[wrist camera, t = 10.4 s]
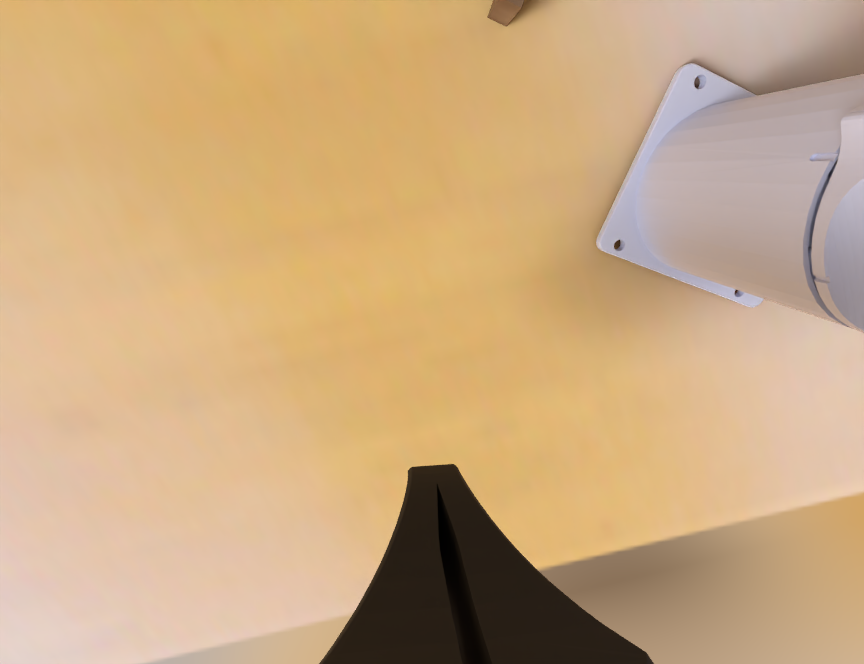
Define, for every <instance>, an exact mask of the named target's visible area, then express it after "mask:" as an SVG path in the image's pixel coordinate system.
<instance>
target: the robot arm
mask: <svg viewBox="0 0 864 664" xmlns="http://www.w3.org/2000/svg"><path fill="white" fill-rule="evenodd" d="M696 77H698V78H699V80H700V84H699V87H698V88H697V89H696V88H695V86H694V81H695V79H696ZM617 240H620V242H621V244H620V247H619V248H618V249H616V250H615V249H614V244H615V242H616V241H617ZM596 244H597V247H598V249H600V250H601V251H603V252H606V253H609V254H611V255H614V256H617V257H619V258H622V259H624V260H627V261H630V262H632V263H635V264H638V265H640V266H643V267H645V268H648V269H651V270H653V271H656V272H658V273H661V274H664V275H666V276H669V277H672V278H674V279H677V280H679V281H682V282H685V283H687V284H690V285H693V286H695V287H698V288H700V289H703V290H706V291H708V292H711V293H714V294H716V295H719V296H721V297H724V298H727V299H729V300H732V301H735V302H737V303H740V304H742V305H745V306H748V307H756V306H758V305H759V304H760V303H761V302H762V301H763V299H766V300H769V301H772V302H775V303H778V304H781V305H784V306H787V307H790V308H793V309H796V310H799V311H802V312H805V313H808V314H811V315H814V316H817V317H820V318H823V319H826V320H829V321H832V322H835V323H838V324H841V325H844V326H847V327H850V328H854V329H856V330H858V331H861V332H863V333H864V74H859V75H854V76H849V77H845V78H840V79H835V80H830V81H825V82H821V83H816V84H811V85H806V86H801V87H796V88H792V89H787V90H782V91H777V92H772V93H768V94H763V95H758V96H757V95H755V94H753V93H751V92H750V91H748V90H746V89H744V88H742V87H740V86H738V85H736V84H734V83H732V82H730V81H728V80H726V79H724V78H722V77H720V76H719V75H717V74H715V73H713V72H711V71H709V70H707V69H705V68H703V67H701V66H699V65H697V64H694V63H690V64H686V65H683V66H681V67H680V68H679V69H678V70H677V71H676V73H675V74H674V77H673V79H672V81H671V83H670V85H669V87H668V89H667V91H666V93H665V96H664V98H663V100H662V102H661V104H660V106H659V108H658V110H657V112H656V115H655V117H654V119H653V121H652V123H651V125H650V127H649V129H648V131H647V133H646V136H645V138H644V140H643V142H642V144H641V146H640V148H639V150H638V152H637V155H636V157H635V159H634V161H633V163H632V165H631V167H630V169H629V171H628V173H627V176H626V178H625V180H624V182H623V184H622V186H621V188H620V190H619V192H618V195H617V197H616V199H615V201H614V203H613V205H612V207H611V209H610V211H609V214H608V216H607V218H606V220H605V222H604V224H603V226H602V228H601V230H600V232H599V235H598V237H597V240H596ZM735 290H738V292H737V293H736V294H735ZM319 664H654V663H653V662H652V660H651V659H650V658H649V656H648V654H647V653H646V652H645V651H643V650H642V649H640V648H638V647H637V646H635V645H634V644H632V643H631V642H629V641H628V640H626V639H624V638H623V637H621V636H620V635H619V634H617V633H616V632H614V631H613V630H611V629H609V628H608V627H606V626H605V625H603V624H602V623H601V622H599V621H598V620H596V619H595V618H594V617H593V616H591V615H590V614H588V613H587V612H586V611H585V610H583V609H582V608H581V607H579V606H578V605H577V604H576V603H575V602H573V601H572V600H571V599H570V598H569V597H567V596H566V595H565V594H564V593H563V592H561V591H560V590H559V589H558V588H556V586H554V585H553V584H552V583H551V582H549V581H548V580H547V579H546V578H545V577H544V576H543V575H542V574H541V573H540V572H539V571H538V570H537V569H536V568H535V567H534V566H533V565H532V564H531V563H530V562H529V561H528V560H527V559H526V558H525V557H524V556H523V555H522V554H521V553H520V552H519V551H518V550H517V549H516V548H515V547H514V545H513V544H512V543H511V542H510V541H509V540H508V539H507V537H506V536H505V535H504V534H503V533H502V532H501V530H500V529H499V528H498V527H497V526H496V524H495V523H494V522H493V520H492V519H491V518H490V517H489V515H488V514H487V513H486V511H485V510H484V509H483V507H482V506H481V504H480V503H479V502H478V500H477V499H476V497H475V496H474V494H473V493H472V491H471V490H470V488H469V487H468V485H467V484H466V482H465V480H464V479H463V477H462V475H461V473H460V472H459V470H458V468H457V467H456V466H455V465H454V464H448V465H434V466H419V467H411V468H410V469H409V470H408V482H407V488H406V493H405V497H404V501H403V505H402V508H401V511H400V515H399V518H398V521H397V524H396V527H395V529H394V532H393V535H392V537H391V540H390V542H389V545H388V547H387V550H386V552H385V554H384V557H383V559H382V561H381V563H380V565H379V567H378V569H377V571H376V573H375V576H374V578H373V579H372V581H371V583H370V585H369V587H368V589H367V591H366V592H365V594H364V596H363V598H362V600H361V601H360V603H359V605H358V607H357V608H356V610H355V612H354V613H353V615H352V617H351V618H350V620H349V621H348V623H347V624H346V626H345V627H344V629H343V630H342V632H341V633H340V635H339V637H338V638H337V640H336V641H335V643H334V644H333V646H332V647H331V648H330V650H329V651H328V653H327V654H326V655H325V657H324V658H323V659H322V661H321V662H320V663H319Z"/></svg>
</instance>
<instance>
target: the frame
mask: <svg viewBox="0 0 864 664" xmlns="http://www.w3.org/2000/svg"><path fill="white" fill-rule="evenodd" d="M523 2H524V0H493V3H492V6H491V9H490V12H489V15H488V18H490V19H492V20H494V21H496V22H498V23H500V24H502V25H504V26H507V25H508V24H509V23H510V21H511V20H512V19H513V18H514V16H515V15H516V14H517V13H518V11H519V10H520V9H521V8H522V5H523Z"/></svg>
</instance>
